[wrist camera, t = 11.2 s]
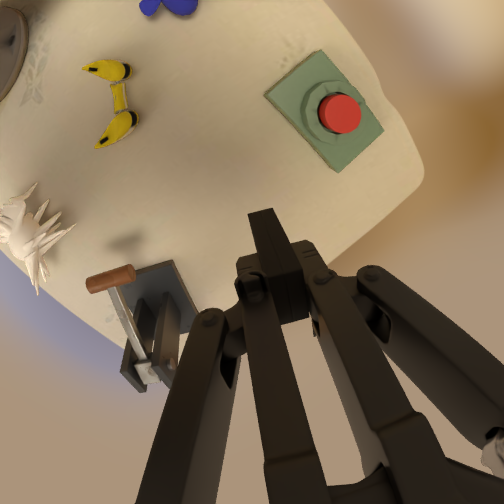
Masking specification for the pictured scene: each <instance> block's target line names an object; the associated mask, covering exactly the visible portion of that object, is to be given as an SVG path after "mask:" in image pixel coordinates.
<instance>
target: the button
mask: <svg viewBox="0 0 504 504" xmlns="http://www.w3.org/2000/svg"><path fill="white" fill-rule="evenodd" d="M319 117H320V120H321V122H322V123H323V125H324V126H325V127H326V128H328V129H330V130H332V131H335V132H338V133H349V132H352V131H353V130H355V129H356V128H357V126H358V125H359V123H360V120H361V110H360V107H359V105H358V103H357V102H356V101H355V100H354V99H353V98H352V97H350V96H347V95H336V94H335V95H330V96H328V97H326V98H325V99H324V100H323V101H322V103H321V104H320V107H319Z"/></svg>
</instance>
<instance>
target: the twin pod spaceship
mask: <svg viewBox="0 0 504 504" xmlns="http://www.w3.org/2000/svg"><path fill="white" fill-rule="evenodd" d="M82 70H86V71H88V72H91V73H93V74H95V75H97V76H99V77H102V78H104V79H106V80H109V81H115V82H116V83H117V84H110V87H111V89H112V93H113V98H114V114H118V113H119V112H120V111H121V112H120V113H119V114H118V115H117V116H116V117H115V118H114V119H113V120H112V122H111V123H110V125H109V126H108V128H107V129H106V131H105V132H104V134H103V135H102V137H101V138H100V140H99V141H98V143H97V144H96V145H95V147H94V148H95V149H98V148H102V147H105V146H108V145H110V144H113V143H115V142H117V141H119V140H121V139H123V138H125V137H126V136H128V135H129V134H130V133H131V132H132V131H133V130H134V129H135V127H136V126H137V123H138V122H139V121H138V120H139V119H138V114H137V113H136V112H135V111H133V110H128V111H123V109H127V108H128V101H127V96H126V85H125V83H124V82H123V83H119V81H124V80H127V79H128V78H129V77H130V76H131V74H132V68H131V66H130V65H129V64H128V63H127V62H125V61H122V60H101V61H96V62H93V63H91V64H88V65H86V66H84V67H82Z"/></svg>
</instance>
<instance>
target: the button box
mask: <svg viewBox="0 0 504 504" xmlns="http://www.w3.org/2000/svg"><path fill="white" fill-rule="evenodd" d="M335 94H336V95H347V96H350V97H352V98H353V99H354V100H355V101H356V102H357V103H358V105H359V107H360V110H361V120H360V123H359V125H358V126H357V128H356V129H355V130H353V131H352V132H349V133H338V132H335V131H332V130H330V129H328V128H326V127H325V126H324V125H323V123H322V122H321V120H320V117H319V107H320V104H321V103H322V101H323V100H324V99H325V98H326V97H328V96H330V95H335ZM264 96H265V97H266V98H267V99H268V100H269V101H270V102H271V103H272V104H273V105H274V106H275V107H276V108H277V109H278V110H279V111H280V112H281V113H282V114H283V115H284V116H285V117H286V118H287V119H288V121H289V122H290V123H291V124H292V125H293V126H294V127H295V128H296V129H297V130H298V131H299V132H300V133H301V135H302V136H303V137H304V138H305V139H306V140H307V141H308V142H309V143H310V145H311V146H312V147H313V148H314V149H315V150H316V151H317V153H318V154H319V155H320V156H321V157H322V158H323V160H324V161H325V162H326V163H327V164H328V165H329V167H330V168H331V169H333V170H334V171H335V172H337V173H339V172H340V171H341V170H342V169H344V168H345V167H346V166H347V165H348V164H349V163H350V162H351V161H352V160H353V159H354V158H356V157H357V156H358V155H359V154H360V153H361V152H362V151H363V150H364V149H365V148H366V147H368V146H369V145H370V144H371V143H372V142H373V141H374V140H375V139H376V138H377V137H378V136H380V135H381V134H382V133H383V132H384V129H383V128H382V126H381V125H380V123H379V122H378V120H377V119H376V117H375V116H374V115H373V113H372V112H371V110H370V109H369V108H368V106H367V105H366V103H365V100H364V98H363V97H362V96H361V94H360V93H359V92H358V90H357V89H356V88H355V87H353V86H352V85H351V84H350V83H349V81H348V80H347V79H346V78H345V76H344V75H343V74H342V73H341V72H340V70H339V69H338V68H337V67H336V66H335V65H334V63H333V62H332V61H331V60H330V59H329V58H328V57H327V55H326V54H325V53H324V52H323V51H322V50H318V51H316V52H314V53H312V54H311V55H310V56H308V57H307V58H306V59H305V60H304V61H302V62H301V63H300V64H299V65H297V66H296V67H295V68H294V69H293V70H291V71H290V72H289V73H288V74H287V75H285V76H284V77H283V78H282V79H281V80H280V81H278V82H277V83H276V84H275V85H274V86H273V87H272V88H270V89H269V90H268V91H267V92H266V93H265V94H264Z"/></svg>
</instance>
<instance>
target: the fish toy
mask: <svg viewBox="0 0 504 504" xmlns="http://www.w3.org/2000/svg"><path fill="white" fill-rule="evenodd" d="M161 2H162V3H163V4H164V5H165V6H166V7H167V8H168V9H169V10H170V11H172V12H173V13H175V14H178V15H182V16H184V15H190V14H192V13H193V12H194V11H195V9H196V7H197V5H198V0H142V1H141V2H140V3H139V7H140V9H141V11H142V13H143V14H144V15H146V16H151V15H153V14H154V12H155V11H156V10H157V8H158V6H159V5H160V3H161Z"/></svg>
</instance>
